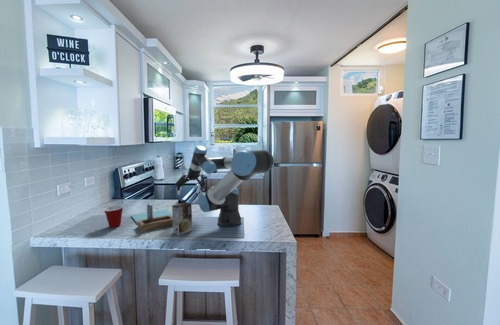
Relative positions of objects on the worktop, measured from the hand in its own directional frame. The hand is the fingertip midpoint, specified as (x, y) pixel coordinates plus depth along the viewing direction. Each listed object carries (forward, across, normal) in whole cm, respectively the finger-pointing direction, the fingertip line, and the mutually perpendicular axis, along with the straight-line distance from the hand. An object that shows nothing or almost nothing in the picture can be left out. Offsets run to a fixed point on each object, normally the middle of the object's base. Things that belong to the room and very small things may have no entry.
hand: (188, 193), depth 163 cm
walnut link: (+12, +22, +15) cm, 29 cm away
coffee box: (+3, +12, +30) cm, 33 cm away
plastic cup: (+20, +43, +3) cm, 48 cm away
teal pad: (+22, +19, -2) cm, 29 cm away
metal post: (+12, +26, +15) cm, 32 cm away
